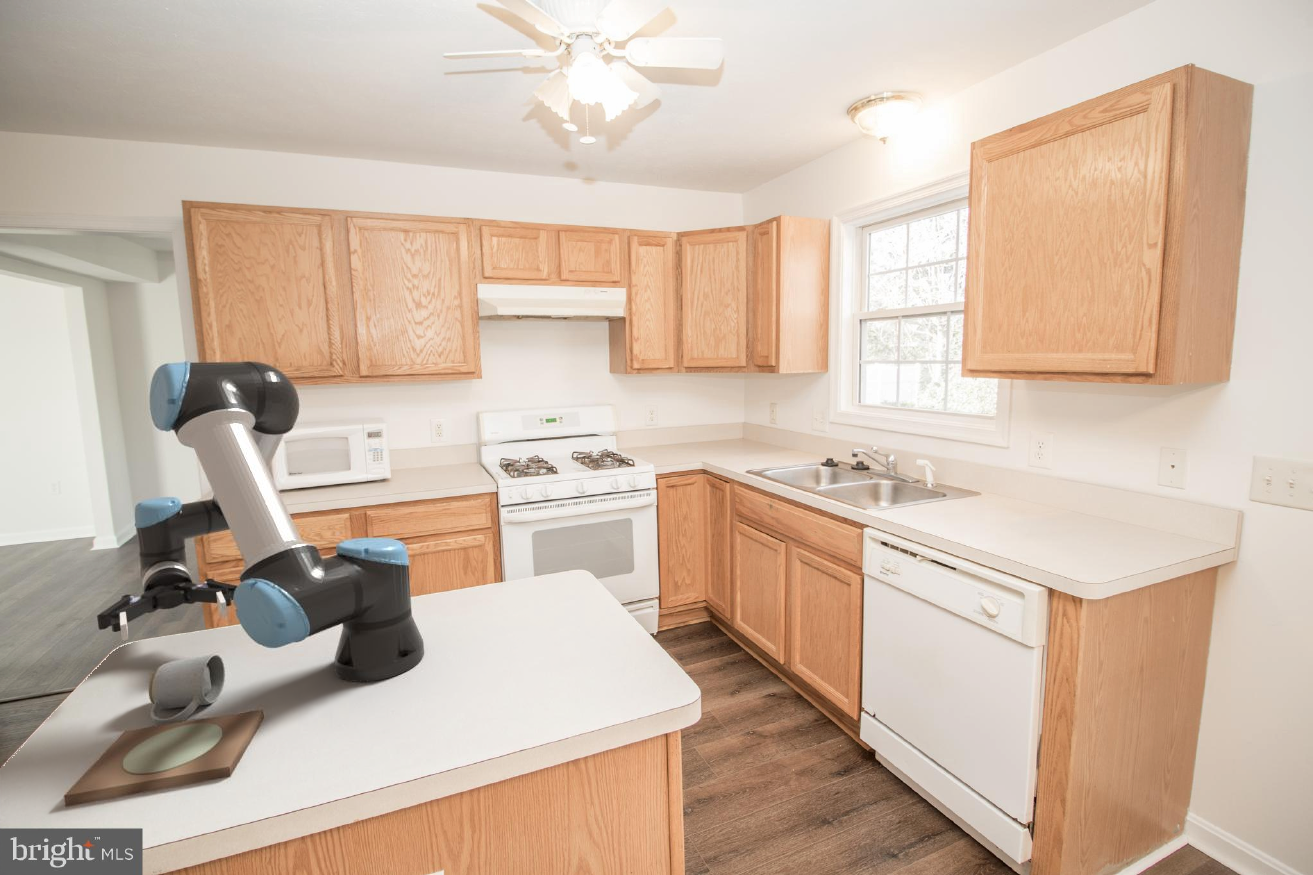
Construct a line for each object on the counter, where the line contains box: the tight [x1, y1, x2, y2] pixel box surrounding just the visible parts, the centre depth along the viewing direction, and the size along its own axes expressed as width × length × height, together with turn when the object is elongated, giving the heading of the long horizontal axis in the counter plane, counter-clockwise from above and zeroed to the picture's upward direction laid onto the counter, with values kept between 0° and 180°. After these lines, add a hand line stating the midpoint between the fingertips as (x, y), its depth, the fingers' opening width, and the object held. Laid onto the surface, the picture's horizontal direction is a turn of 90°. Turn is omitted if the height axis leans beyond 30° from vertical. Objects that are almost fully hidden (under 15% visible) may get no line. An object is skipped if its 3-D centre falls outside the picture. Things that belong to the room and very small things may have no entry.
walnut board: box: [63, 709, 265, 807], centre depth 85 cm, size 18×14×2 cm
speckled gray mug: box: [148, 653, 226, 726], centre depth 97 cm, size 11×8×8 cm
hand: (176, 620), depth 104 cm, fingers open, 13 cm apart
